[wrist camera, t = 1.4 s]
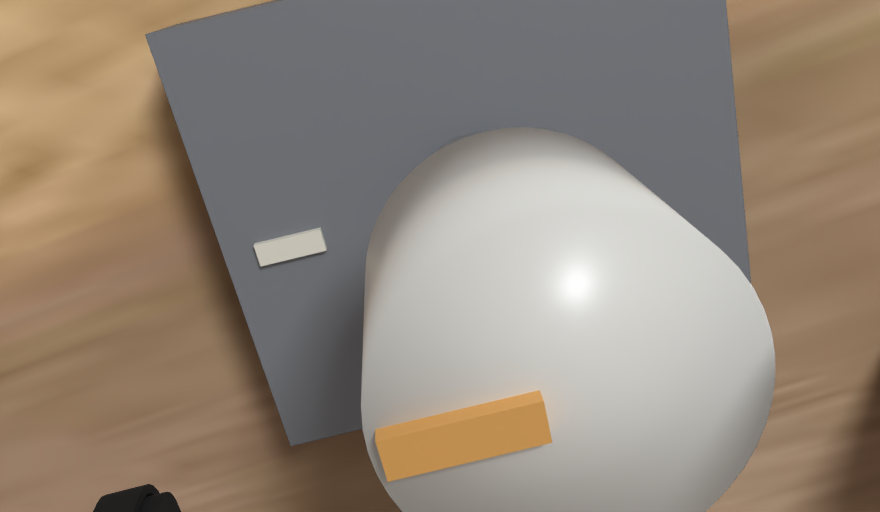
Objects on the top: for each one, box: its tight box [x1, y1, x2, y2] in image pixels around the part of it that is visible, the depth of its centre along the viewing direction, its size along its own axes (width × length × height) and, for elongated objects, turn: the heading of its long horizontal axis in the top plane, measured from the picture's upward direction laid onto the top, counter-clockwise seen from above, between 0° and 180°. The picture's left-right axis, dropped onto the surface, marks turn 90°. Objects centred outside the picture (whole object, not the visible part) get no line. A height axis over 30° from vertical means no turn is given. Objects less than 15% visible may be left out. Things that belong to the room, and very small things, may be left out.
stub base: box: [145, 0, 751, 446], centre depth 20 cm, size 14×12×8 cm
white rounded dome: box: [361, 127, 775, 512], centre depth 13 cm, size 6×6×5 cm
